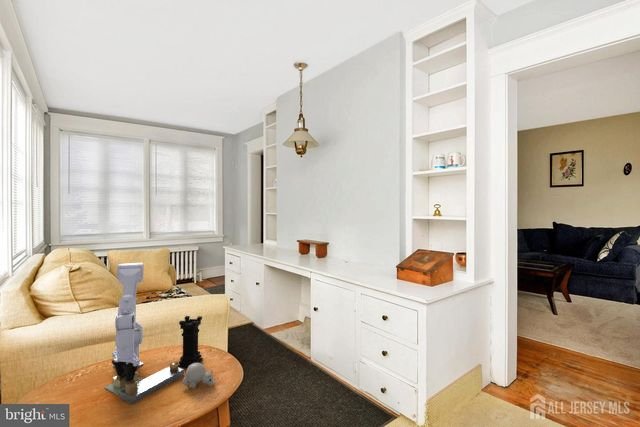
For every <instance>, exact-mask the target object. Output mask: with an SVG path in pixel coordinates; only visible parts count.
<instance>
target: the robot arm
mask: <svg viewBox="0 0 640 427" xmlns="http://www.w3.org/2000/svg"><path fill="white" fill-rule="evenodd" d="M144 270H145V269H144V263H143V262H134V263H133V262H132V263H130V262H129V263H118V264H117V266H116V276H117V280H118V283H119V284H122V297H121V298H119V300H118V310H117V316H115V320H114V321H115V322H114V326H115V341H114V342H115V347H116V348H115V350H113V351H112V352H111V357H112V358H114V359H113V360H112V359H111V363H112V367H113V368H114V369H115V372H116V376H117V375H118V374H120V373H122V372H125V373H126V380H127V382H129V381H131V380H133V379H134V375H135V372H137V369H138V368H139V367H141V366H142V365H144V362H142V361H141V360H140V345H141V344H142V343H143V336H144V333H143V332H144V330H143V325H142V324H141V323H139V322H138V321H136V319H137V318H136V315H137V289H138V285H139V283H141V282H143V280H144Z"/></svg>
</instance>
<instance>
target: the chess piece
mask: <svg viewBox="0 0 640 427" xmlns="http://www.w3.org/2000/svg"><path fill="white" fill-rule="evenodd" d="M202 320H203V316H199V315H198V316H197V317H196V318H191V317H190V315H185V316H184V320H179V321H178V325H179V326H180V328H179V329H180V330H182V333H181V337H182V355H181V356H180V358H179V361H178V367H179V368H181V369H188V366H189V365H191V364H193V363H202V361H203V360H204V358H203V357H202V356H203V354H201V351H199V332H200V329H199V326H200V325H202Z"/></svg>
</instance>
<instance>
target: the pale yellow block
mask: <svg viewBox="0 0 640 427" xmlns="http://www.w3.org/2000/svg"><path fill="white" fill-rule="evenodd" d="M138 377H139V372H138V371H136V372H135V375H134V380H136V381H138ZM112 383H113V387H115V388H117V389H119V390H121V389H123V388H125V383H127V380H126V373H125V372H122V373H120V374H118V375H117V374H116V375H115V376H114V377H112Z"/></svg>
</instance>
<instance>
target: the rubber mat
mask: <svg viewBox="0 0 640 427" xmlns="http://www.w3.org/2000/svg"><path fill="white" fill-rule="evenodd" d="M144 379H145V378H142V377H140V376H138V381H137V383H138V382H140V381H142V380H144ZM103 387H104V389H105V390H106V391H108V392H110V393H113V394H114V395H117V396H119V397H120V391H122V390H124V389H125V388H123V389H121V390H119V389H117V388H115V387H113V382H112V383H110V384H108V385H106V386H103Z"/></svg>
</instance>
